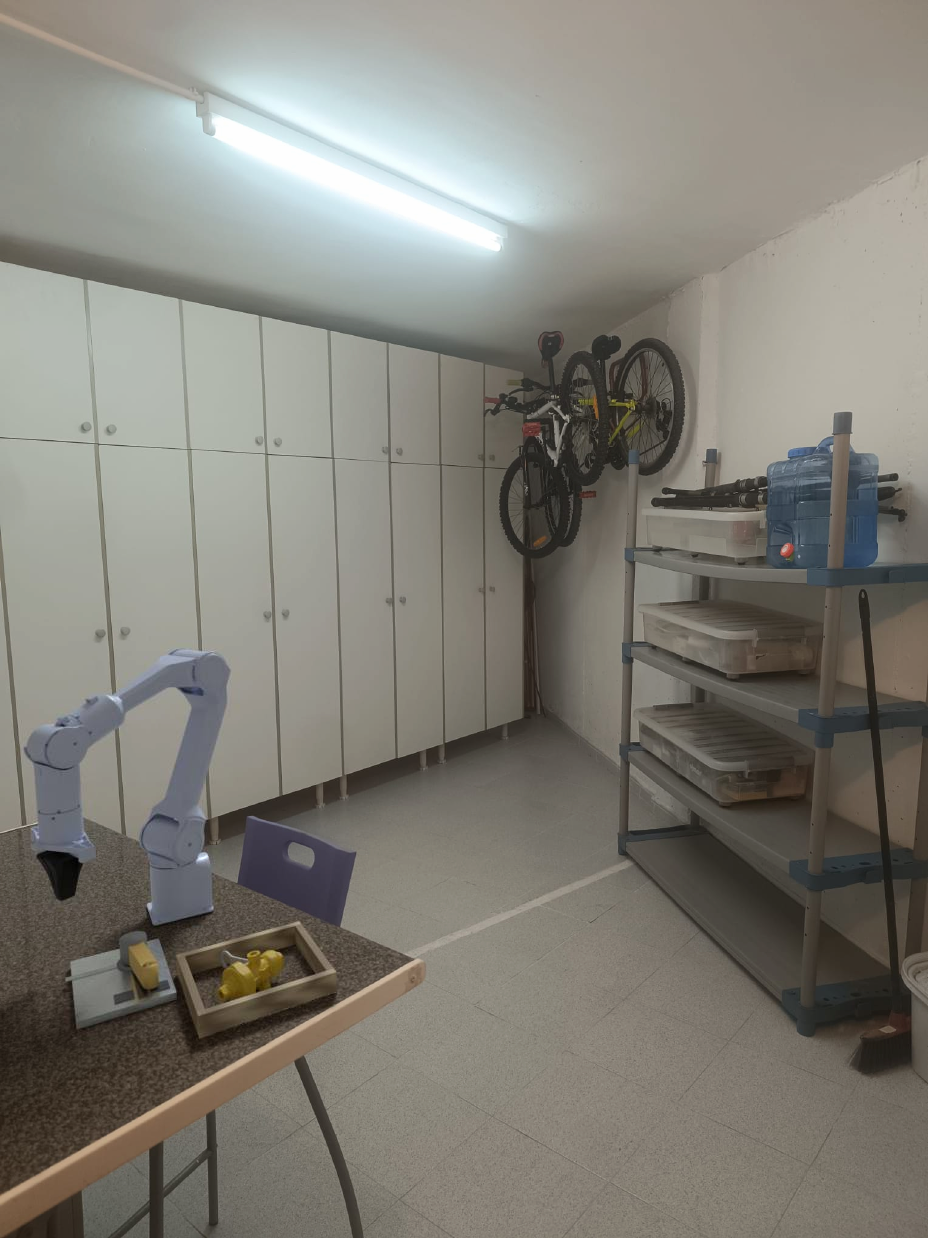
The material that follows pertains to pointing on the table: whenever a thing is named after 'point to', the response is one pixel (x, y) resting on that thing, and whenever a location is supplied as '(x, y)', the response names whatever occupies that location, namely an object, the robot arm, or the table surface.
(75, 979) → the base
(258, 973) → the pressure relief valve
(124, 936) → the handle
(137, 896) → the table surface
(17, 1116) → the table surface
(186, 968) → the parts frame
